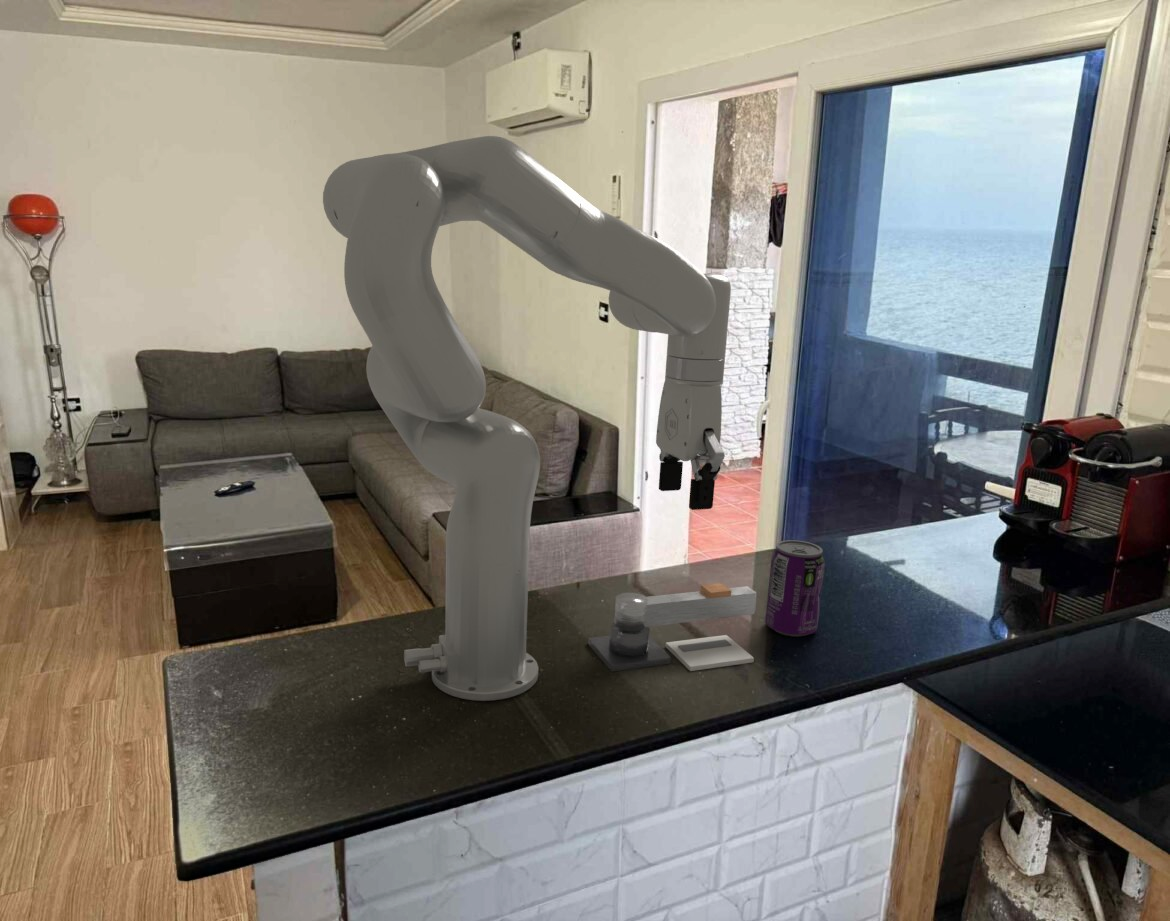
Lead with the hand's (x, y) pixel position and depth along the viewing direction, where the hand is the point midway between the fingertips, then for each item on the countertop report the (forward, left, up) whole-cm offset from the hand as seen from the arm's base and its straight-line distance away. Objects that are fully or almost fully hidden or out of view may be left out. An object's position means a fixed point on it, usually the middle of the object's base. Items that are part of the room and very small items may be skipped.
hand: (684, 498), depth 116 cm
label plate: (0, -10, -18) cm, 21 cm away
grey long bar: (-2, -7, -14) cm, 16 cm away
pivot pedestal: (-10, -7, -18) cm, 22 cm away
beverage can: (+15, -6, -18) cm, 24 cm away
